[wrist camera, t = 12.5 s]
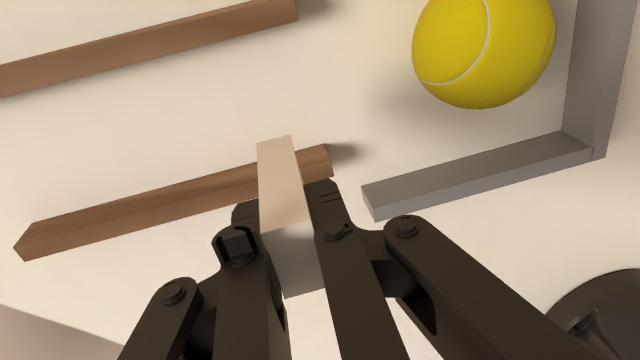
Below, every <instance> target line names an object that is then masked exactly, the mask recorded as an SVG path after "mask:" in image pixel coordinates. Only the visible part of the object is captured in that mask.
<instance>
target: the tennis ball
mask: <svg viewBox="0 0 640 360" xmlns="http://www.w3.org/2000/svg"><path fill="white" fill-rule="evenodd" d="M555 36H556V25H555V20H554V15H553V11H552V8H551V6H550V4H549V2H548V0H430V1H429V2H428V3H427V5H426V6H425V8H424V10H423V11H422V13H421V15H420V17H419V19H418V22H417V25H416V28H415V31H414V36H413V42H412V60H413V65H414V70H415V72H416V75H417V77H418V79H419V80H420V82H421V83H422V84H423V86H424V87H425V88H426V89H427V90H428V91H429V92H430V93H432V94H433V95H434V96H435V97H437V98H438V99H440V100H442V101H444V102H446V103H448V104H450V105H453V106H456V107H461V108H466V109H486V108H493V107H497V106H500V105H503V104H506V103H508V102H510V101H512V100H513V99H515V98H517V97H519V96H520V95H522V94H523V93H525V92H526V91H527V90H528V89H529V88H530V87H531V86H532V85H533V84H534V83H535V81H536V80H537V79H538V77H539V76H540V75H541V73H542V72H543V70H544V68H545V67H546V65H547V63H548V60H549V58H550V56H551V53H552V50H553V46H554V42H555Z"/></svg>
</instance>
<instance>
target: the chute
mask: <svg viewBox="0 0 640 360" xmlns="http://www.w3.org/2000/svg"><path fill="white" fill-rule="evenodd" d="M295 21H299V19H298V14H297V10H296V5H295V1H294V0H252V1H248V2H244V3H240V4H237V5H233V6H229V7H225V8H221V9H217V10H213V11H209V12H205V13H201V14H197V15H194V16H190V17H186V18H182V19H178V20H174V21H170V22H166V23H162V24H158V25H154V26H151V27H147V28H143V29H139V30H135V31H131V32H127V33H123V34H119V35H115V36H111V37H107V38H104V39H100V40H96V41H92V42H88V43H84V44H80V45H76V46H72V47H68V48H64V49H61V50H57V51H53V52H49V53H45V54H41V55H37V56H33V57H29V58H25V59H21V60H18V61H14V62H10V63H6V64H2V65H0V98H2V97H5V96H9V95H13V94H17V93H21V92H25V91H29V90H32V89H36V88H40V87H44V86H48V85H52V84H56V83H59V82H63V81H67V80H71V79H75V78H79V77H83V76H86V75H90V74H94V73H98V72H102V71H106V70H110V69H113V68H117V67H121V66H125V65H129V64H133V63H137V62H140V61H144V60H148V59H152V58H156V57H160V56H164V55H168V54H171V53H175V52H179V51H183V50H187V49H191V48H195V47H198V46H202V45H206V44H210V43H214V42H218V41H222V40H225V39H229V38H233V37H237V36H241V35H245V34H249V33H252V32H256V31H260V30H264V29H268V28H272V27H276V26H279V25H283V24H287V23H291V22H295ZM295 154H296V158H297V162H298V165H299V169H300V172H301V176H302V180H303V183H304V184H308V183H312V182H315V181H319V180H322V179H326V178H330V177H333V176H334V173H333V169H332V165H331V160H330V158H329V156H328V153H327V151H326V149H325V146H324V144H321V145H317V146H313V147H310V148H306V149H302V150H299V151H295ZM257 197H259V192H258V168H257V162H255V163H251V164H247V165H244V166H240V167H236V168H233V169H229V170H225V171H222V172H218V173H214V174H211V175H207V176H203V177H200V178H196V179H192V180H189V181H185V182H181V183H178V184H174V185H170V186H167V187H163V188H160V189H156V190H152V191H149V192H145V193H141V194H138V195H134V196H130V197H127V198H123V199H119V200H116V201H112V202H108V203H105V204H101V205H97V206H94V207H90V208H86V209H83V210H79V211H75V212H72V213H68V214H64V215H61V216H57V217H53V218H50V219H46V220H42V221H39V222H35V223H32V224H31V225H30V226H29V227H28V229H27V230H26V231H25V233H24V234H23V235H22V236H21V238H20V239H19V240H18V242H17V243H16V244H15V245H14V247H13V249H14V250H15V251H16V252H17V253H18V255H19V256H20V257H21V258H22V259H23V261H24V262H26V261H30V260H34V259H37V258H41V257H44V256H48V255H52V254H55V253H59V252H62V251H66V250H70V249H73V248H77V247H80V246H84V245H88V244H91V243H95V242H99V241H102V240H106V239H109V238H113V237H117V236H120V235H124V234H127V233H131V232H135V231H138V230H142V229H145V228H149V227H153V226H156V225H160V224H164V223H167V222H171V221H174V220H178V219H182V218H185V217H189V216H192V215H196V214H200V213H203V212H207V211H210V210H214V209H218V208H221V207H225V206H229V205H232V204H236V203H239V202H243V201H247V200H250V199H254V198H257Z"/></svg>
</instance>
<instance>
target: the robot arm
mask: <svg viewBox="0 0 640 360" xmlns="http://www.w3.org/2000/svg"><path fill="white" fill-rule="evenodd" d="M257 168H258V192H259V198H256V199H253V200H249V201H245V202H242V203H238V204H237V205H236V207H235V209H234V210H233V212H232V217H231V222H232V223H231V225H230V226H228V227H226V228H224V229H222V230H221V231H219V232H218V233H217V234H216V235H215V236H214V238H213V240H212V242H211V244H212V246H213V249H214V251H215V253H216V255H217V257H218V259H219V261H220V264H221V268H220V270H219V271H218V272H217V273H216V274H214V275H213V276H211V277H209V278H207V279H205V280H203V281H202V282H200V283H198V284H197V283H196V281H195V280H194V279H192V278H190V277H181V278H177V279H174V280H172V281H170V282H168V283H166V284H164V285H163V286H162V287H161V288H159V289H158V290H157V292H156V293H155V294H154V295H153V297H152V299H151V300H150V302H149V304H148V306H147V307H146V309H145V311H144V313H143V315H142V316H141V318H140V320H139V322H138V323H137V325H136V327H135V329H134V330H133V332H132V334H131V336H130V338H129V339H128V341H127V343H126V345H125V346H124V348H123V350H122V352H121V354H120V355H119V357H118V359H117V360H292V357H291V348H290V339H289V330H288V321H287V312H286V309H285V307H284V304H283V301H282V293H283V296H284V299H287V298H290V297H294V296H297V295H301V294H305V293H308V292H312V291H315V290H319V289H322V288H325V289H326V294H327V298H328V302H329V307H330V311H331V315H332V320H333V324H334V328H335V333H336V337H337V341H338V345H339V350H340V354H341V358H342V360H410V358H409V356H408V353H407V351H406V348H405V346H404V344H403V341H402V339H401V336H400V334H399V331H398V329H397V326H396V324H395V321H394V319H393V316H392V314H391V311H390V309H389V307H388V304H387V302H386V299H385V298H395V300H396V302H397V303H398V304H399V305H400V307H401V308H402V309H403V310H404V312H405V313H406V314H407V315H408V316H409V318H410V319H411V320H412V321H413V322H414V324H415V325H416V326H417V327H418V329H419V330H420V331H421V332H422V333H423V335H424V336H425V337H426V338H427V340H428V341H429V342H430V343H431V344H432V346H433V347H434V348H435V349H436V350H437V352H438V353H439V354H440V355H441V357H442V358H443V359H444V360H640V270H625V271H619V272H614V273H611V274H607V275H604V276H601V277H599V278H596V279H594V280H592V281H590V282H588V283H586V284H584V285H582V286H580V287H579V288H577V289H575V290H574V291H572V292H571V293H569V294H568V295H567V296H565V297H564V298H563V299H561V300H560V301H559V302H558V303H557V304H556V305H555V306H554V307H553V308H552V309H551V310H550V311H549V312H548V313H547V314H546V315H544V314H543V313H541V312H540V311H539V310H538V309H536V308H535V307H534V306H533V305H531V304H530V303H529V302H528V301H526V300H525V299H524V298H523V297H521V296H520V295H519V294H518V293H516V292H515V291H514V290H513V289H511V288H510V287H509V286H508V285H506V284H505V283H504V282H503V281H501V280H500V279H499V278H498V277H496V276H495V275H494V274H493V273H492V272H490V271H489V270H488V269H487V268H485V267H484V266H483V265H482V264H480V263H479V262H478V261H477V260H475V259H474V258H473V257H472V256H470V255H469V254H468V253H467V252H465V251H464V250H463V249H462V248H460V247H459V246H458V245H457V244H455V243H454V242H453V241H452V240H450V239H449V238H448V237H447V236H445V235H444V234H443V233H442V232H440V231H439V230H438V229H437V228H435V227H434V226H433V225H432V224H430V223H429V222H428V221H427V220H425V219H423V218H421V217H420V216H415V215H401V216H397V217H394V218H392V219H391V220H389V221H388V222H387V223H386V224H385V226H384V229H383V230H375V231H374V230H364V229H361V228H358V227H357V226H355V225H354V224H353V222H352V221H351V219H350V217H349V214H348V212H347V209H346V207H345V204H344V202H343V199H342V197H341V194H340V192H339V189H338V187H337V184H336V183H335V182H333V181H332V180H330V179H329V178H327V179H323V180H319V181H316V182H312V183H308V184H304V183H303V180H302V176H301V172H300V169H299V165H298V162H297V158H296V154H295V151H294V147H293V144H292V140H291V136H290V135H286V136H283V137H279V138H275V139H271V140H268V141H264V142H260V143H257ZM281 291H282V293H281Z"/></svg>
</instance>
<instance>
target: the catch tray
mask: <svg viewBox="0 0 640 360" xmlns="http://www.w3.org/2000/svg"><path fill="white" fill-rule="evenodd" d="M636 4H637V0H578V7H577V15H576V22H575V30H574V38H573V45H572V53H571V61H570V68H569V76H568V84H567V92H566V99H565V107H564V115H563V122H562V130H561V131H558V132H554V133H551V134H547V135H544V136H540V137H536V138H533V139H529V140H526V141H522V142H519V143H515V144H511V145H508V146H504V147H501V148H497V149H493V150H490V151H486V152H483V153H479V154H476V155H472V156H468V157H465V158H461V159H458V160H454V161H450V162H447V163H443V164H440V165H436V166H432V167H429V168H425V169H422V170H418V171H415V172H411V173H407V174H404V175H400V176H397V177H393V178H389V179H386V180H382V181H379V182H375V183H372V184H368V185H364V186H361V189H362V195H363V200H364V202H365V204H366V206H367V208H368V210H369V212H370V214H371V216H372V218H373V220H374V222H375V223H376V222H380V221H383V220H387V219H390V218H394V217H397V216H401V215H404V214H408V213H411V212H415V211H418V210H422V209H425V208H429V207H433V206H436V205H440V204H443V203H447V202H450V201H454V200H457V199H461V198H464V197H468V196H471V195H475V194H478V193H482V192H485V191H489V190H493V189H496V188H500V187H503V186H507V185H510V184H514V183H517V182H521V181H524V180H528V179H531V178H535V177H538V176H542V175H546V174H549V173H553V172H556V171H560V170H563V169H567V168H570V167H574V166H577V165H581V164H584V163H588V162H591V161H595V160H598V159H602V158H605V156H606V151H607V146H608V141H609V136H610V131H611V127H612V122H613V117H614V112H615V107H616V102H617V97H618V92H619V87H620V82H621V77H622V73H623V68H624V63H625V58H626V53H627V48H628V43H629V38H630V33H631V28H632V23H633V19H634V14H635V9H636Z"/></svg>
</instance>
